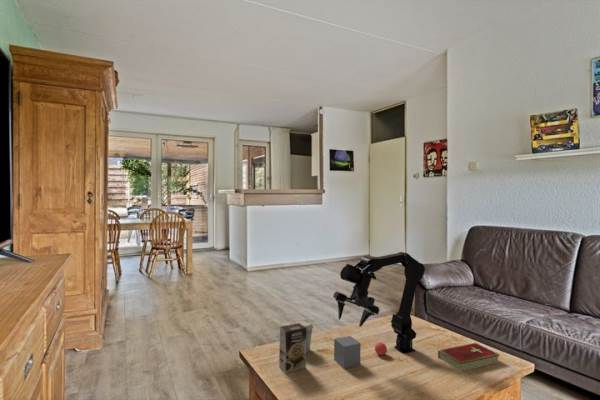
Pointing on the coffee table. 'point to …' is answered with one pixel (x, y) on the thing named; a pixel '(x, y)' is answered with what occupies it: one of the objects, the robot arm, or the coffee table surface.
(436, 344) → the coffee table surface
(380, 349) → the ball
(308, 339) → the coffee cup
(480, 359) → the hardcover book
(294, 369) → the coffee box
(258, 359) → the coffee table surface
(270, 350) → the coffee table surface
